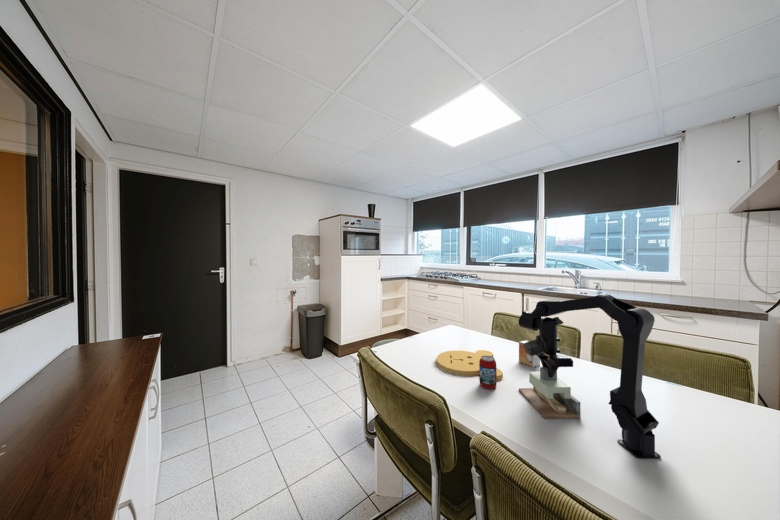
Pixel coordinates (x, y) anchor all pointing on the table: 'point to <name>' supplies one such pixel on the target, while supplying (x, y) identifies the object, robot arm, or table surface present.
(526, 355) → the small box
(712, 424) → the table surface
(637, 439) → the robot arm
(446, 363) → the decorative plaque
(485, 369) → the beverage can
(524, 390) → the cleat board
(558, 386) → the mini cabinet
